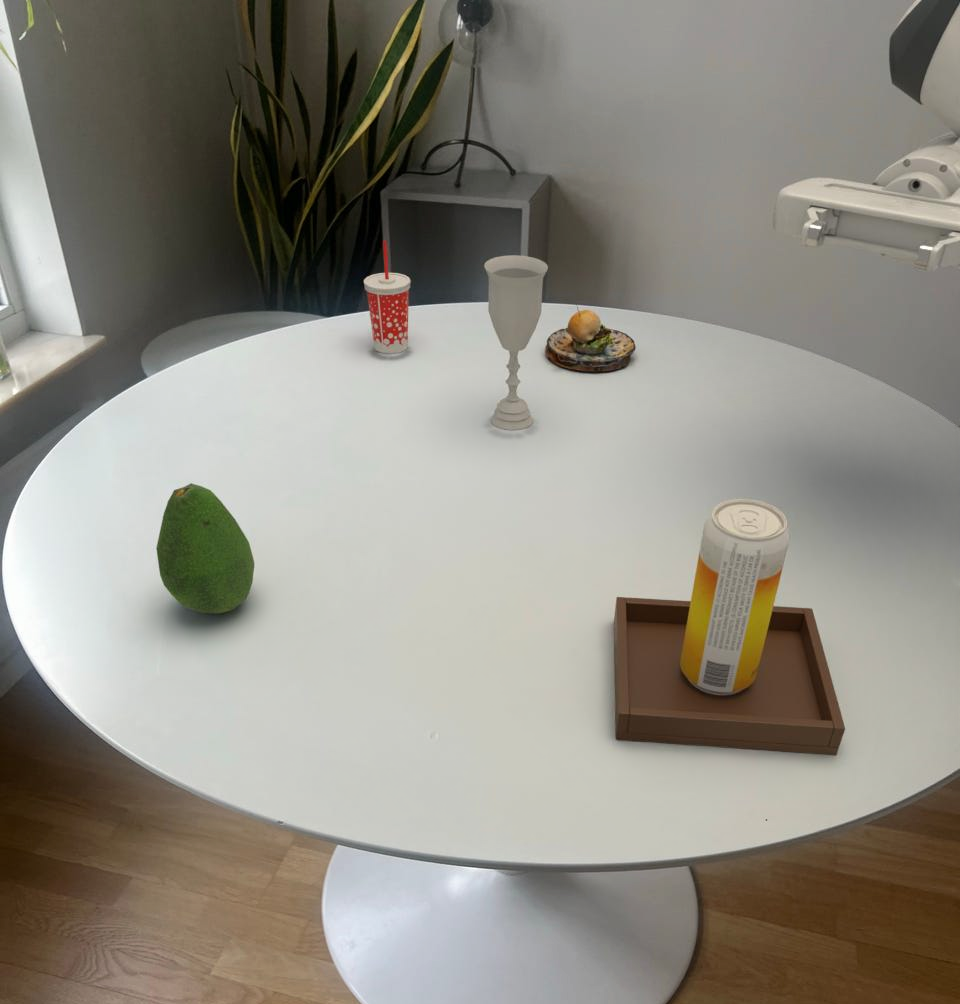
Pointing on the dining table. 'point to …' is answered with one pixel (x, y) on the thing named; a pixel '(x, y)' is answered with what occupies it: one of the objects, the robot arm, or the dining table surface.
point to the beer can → (733, 595)
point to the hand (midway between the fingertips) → (865, 247)
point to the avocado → (203, 552)
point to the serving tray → (723, 718)
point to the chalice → (514, 324)
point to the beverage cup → (388, 308)
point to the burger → (589, 345)
